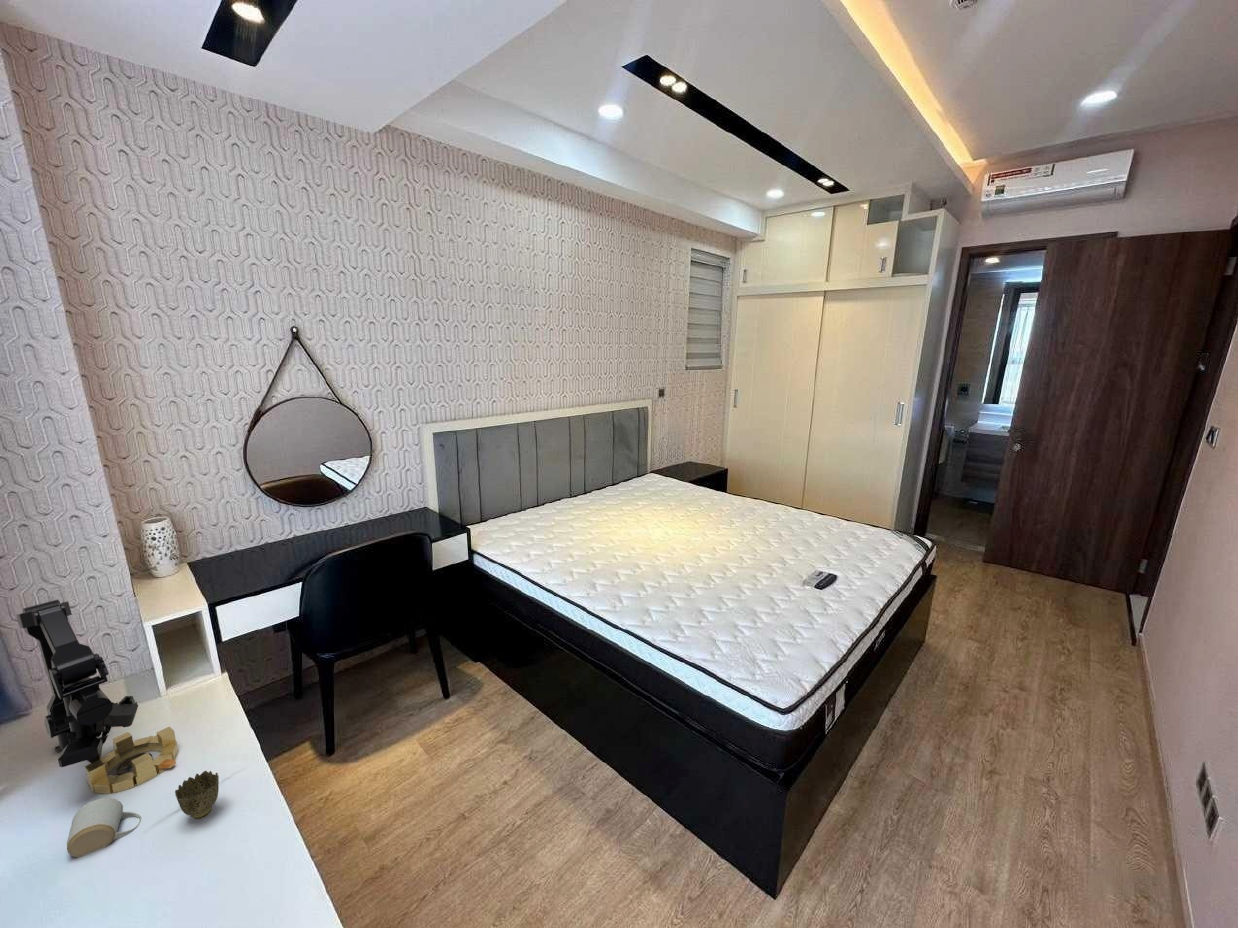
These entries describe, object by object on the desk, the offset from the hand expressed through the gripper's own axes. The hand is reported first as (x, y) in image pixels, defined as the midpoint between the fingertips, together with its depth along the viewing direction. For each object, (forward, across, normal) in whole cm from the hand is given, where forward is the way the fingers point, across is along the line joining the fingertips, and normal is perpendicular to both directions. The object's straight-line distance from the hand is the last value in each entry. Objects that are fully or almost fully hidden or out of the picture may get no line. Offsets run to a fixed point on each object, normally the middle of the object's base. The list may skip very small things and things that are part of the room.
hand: (97, 763), depth 121 cm
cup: (+5, -25, -21) cm, 33 cm away
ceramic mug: (+5, -21, -5) cm, 22 cm away
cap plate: (+5, -1, -6) cm, 8 cm away
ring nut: (+4, -1, -6) cm, 7 cm away
